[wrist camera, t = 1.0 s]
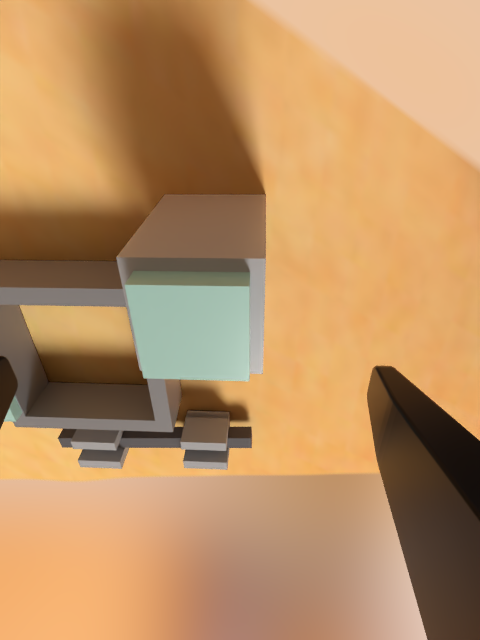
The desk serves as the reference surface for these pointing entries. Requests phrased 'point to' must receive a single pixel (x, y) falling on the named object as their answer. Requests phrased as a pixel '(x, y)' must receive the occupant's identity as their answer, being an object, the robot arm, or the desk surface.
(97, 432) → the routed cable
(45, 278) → the frame
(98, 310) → the desk surface
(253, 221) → the block
